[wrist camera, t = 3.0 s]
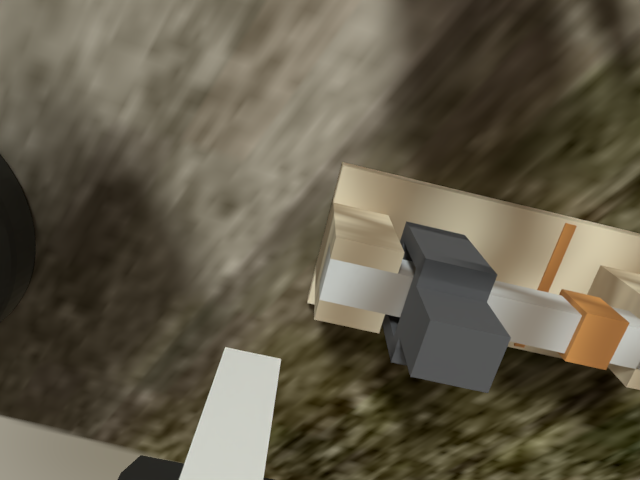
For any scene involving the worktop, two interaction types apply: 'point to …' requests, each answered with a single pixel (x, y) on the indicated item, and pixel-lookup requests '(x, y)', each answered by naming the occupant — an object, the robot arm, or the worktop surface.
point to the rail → (500, 253)
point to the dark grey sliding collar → (447, 312)
